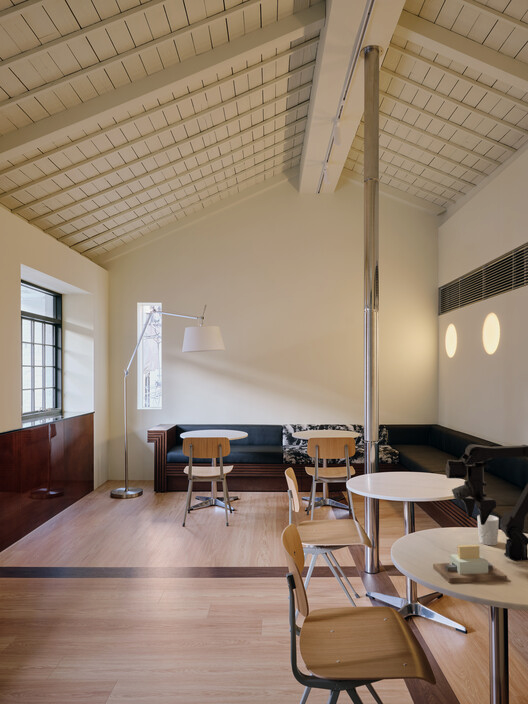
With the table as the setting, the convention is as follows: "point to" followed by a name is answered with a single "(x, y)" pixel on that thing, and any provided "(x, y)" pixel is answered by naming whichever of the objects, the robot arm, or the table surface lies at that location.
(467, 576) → the board
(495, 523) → the white cup
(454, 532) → the table surface
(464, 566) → the sage block
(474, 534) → the table surface
